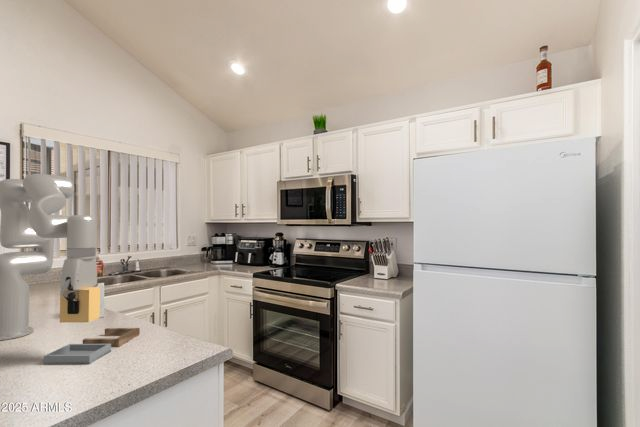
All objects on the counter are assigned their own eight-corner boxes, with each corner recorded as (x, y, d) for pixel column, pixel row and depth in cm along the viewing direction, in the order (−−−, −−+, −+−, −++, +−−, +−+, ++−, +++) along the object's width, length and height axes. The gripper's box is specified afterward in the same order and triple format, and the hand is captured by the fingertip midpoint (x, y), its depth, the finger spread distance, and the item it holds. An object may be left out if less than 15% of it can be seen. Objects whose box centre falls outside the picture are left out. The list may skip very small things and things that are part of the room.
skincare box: (104, 317, 145) (104, 284, 146) (87, 319, 142) (88, 286, 143) (104, 313, 152) (105, 281, 153) (88, 315, 149) (89, 283, 150)
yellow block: (57, 322, 99) (58, 290, 99) (70, 317, 104) (71, 286, 104) (88, 322, 99) (89, 289, 99) (99, 317, 104) (100, 286, 104)
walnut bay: (82, 346, 110) (82, 339, 110) (106, 334, 122) (106, 328, 122) (118, 346, 110) (119, 339, 110) (139, 334, 122) (139, 327, 122)
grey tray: (43, 364, 96) (44, 355, 96) (69, 351, 106) (69, 343, 106) (89, 364, 96) (89, 355, 96) (110, 351, 106) (111, 343, 106)
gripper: (88, 251, 111) (88, 304, 110) (46, 256, 94) (45, 319, 93) (110, 251, 111) (109, 304, 110) (72, 256, 94) (70, 319, 93)
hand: (80, 310), depth 102 cm, fingers closed on yellow block, 5 cm apart
